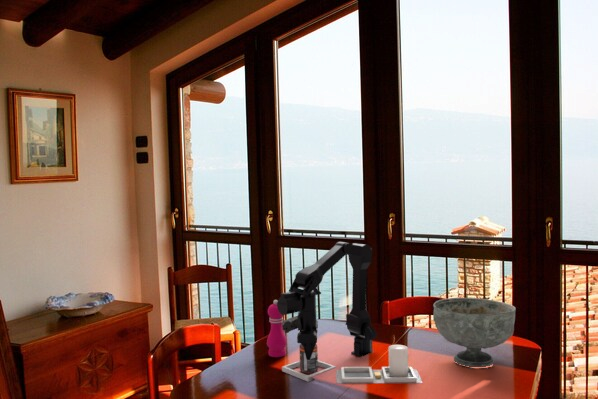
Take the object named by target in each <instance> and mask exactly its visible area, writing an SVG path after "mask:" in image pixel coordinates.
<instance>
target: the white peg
mask: <svg viewBox="0 0 598 399" xmlns="http://www.w3.org/2000/svg"><path fill="white" fill-rule="evenodd" d="M388 367H389V377H408V367H409V347H408V346H406V345H403V344H392V345H389V346H388Z"/></svg>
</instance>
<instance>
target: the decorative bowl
mask: <svg viewBox="0 0 598 399" xmlns="http://www.w3.org/2000/svg"><path fill="white" fill-rule="evenodd" d="M432 306H433V316H432V318H433V321H434V325H435V327H436V330H437V331H438V333H439V334H440V336H442V337H443V338H444V339H445V340H447V342H449V343H452V344H454V345H457V346H460V347H463V348H464V347H465V349H466V350H461V351H459V352H458V353H455V355H454V356H453V362H454V361H455V362H457V363H458V364H461V365H465V366H469V367H486V366H490V365H492V364H493V363H494V358H493V356H491V354H489V353H488V352H485V351H482V349H488V348H489V349H490V348H494V347H497V346H499V345H501V344H504V343H505V342H507V341H508V340H509V339H510V338H511V337H512V336H513V335H514V331H515V323H516V322H515V321H516V306H514V305H512V304H510V303H507V302H501V301H499V300H492V299H486V298H475V297H449V298H443V299H439V300H436V301H435V302H434V303H433V305H432ZM455 362H454V363H455ZM458 364H457V365H458ZM493 365H494V364H493Z"/></svg>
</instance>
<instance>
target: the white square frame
mask: <svg viewBox="0 0 598 399" xmlns="http://www.w3.org/2000/svg"><path fill="white" fill-rule="evenodd" d="M318 367H321V368H323V369H322V370H320V371H319V370H318V371H317V372H315V373H312V374H306V373H302V372H301V371H297V370H294V369H297V368H300V360H297V361H295V362H292V363H289V364H285V365H283V366H281V371H282V372H283V373H286V374H288V375H291V376H293V377H295V378H298V379H301V380H303V381H305V382H311V381H314V380H315V378H312V377H314V376H317V375H320V374H322V373H325V372H327V371H331V370H333V369H336V368H337V367H336V365H333V364H330V363H328V362H324V361H321V360H319V359H318Z"/></svg>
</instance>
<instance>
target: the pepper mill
mask: <svg viewBox="0 0 598 399" xmlns="http://www.w3.org/2000/svg"><path fill="white" fill-rule="evenodd" d="M277 302H278V299H274V300H273V303H272V304H270V305H269V306H268V308H267V315H268V316H269V320H268V321H269V323H270V331H269V335H268V336H267V340H266V346H267V347H268V348H269V349H268V356H269V357H272V358H282V357H284V356H286V354H287V353H286V352H287V351H286V346H287V344H288V342H287V337H286V335H285V334H286V333H285V332H284V330H283V327H282V322H283V321H284V317H283V316H284V315H282V314H280V313H279V311H278V308H277Z"/></svg>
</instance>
